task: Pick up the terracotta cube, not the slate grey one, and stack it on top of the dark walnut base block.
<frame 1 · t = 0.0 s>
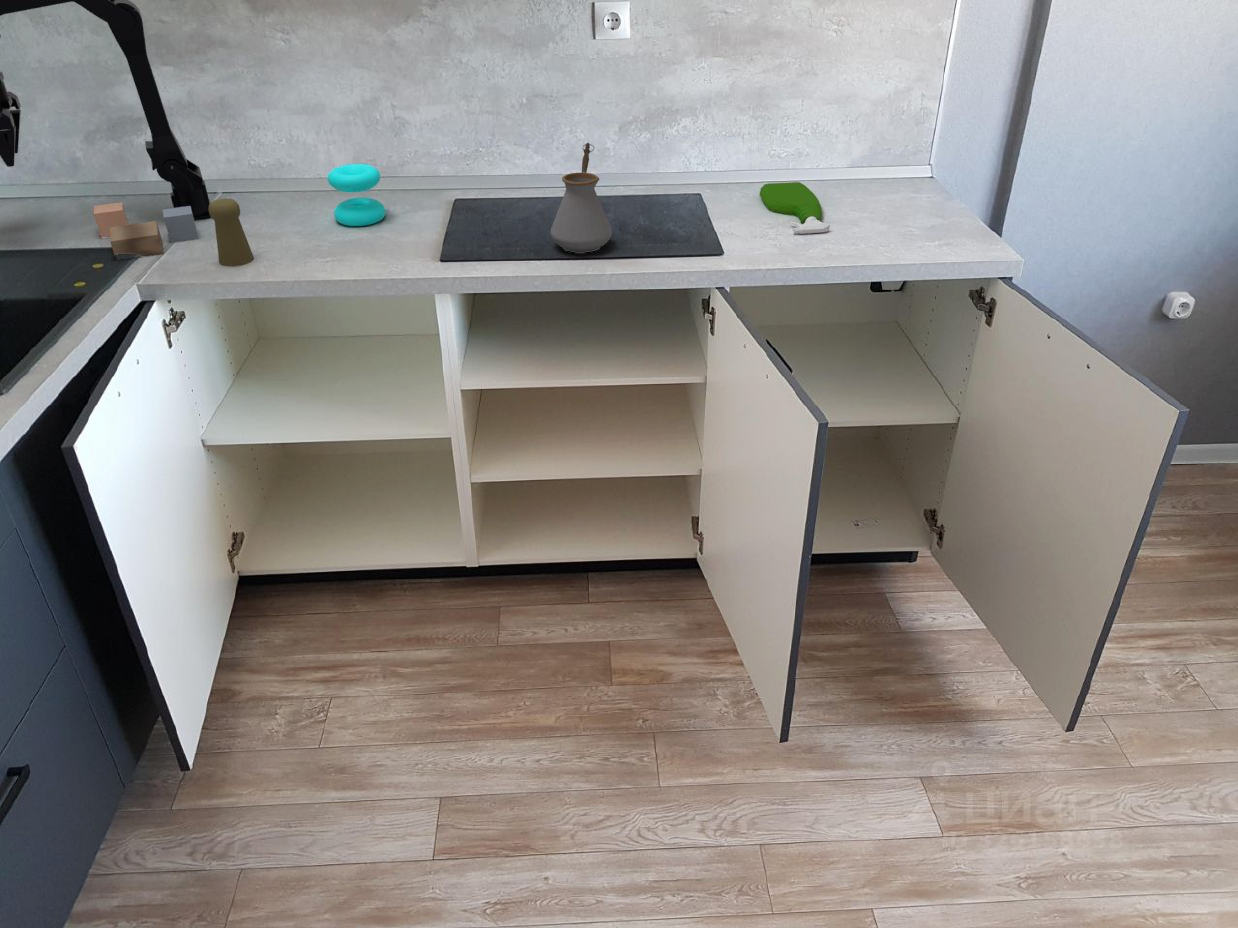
hand: (12, 159, 174), 15 cm above the countertop, tool pointing down, fingers open, 9 cm apart
coffee pot: (584, 237, 181), on the countertop
walnut base block: (140, 251, 176), on the countertop
terracotta cube: (116, 233, 184), on the countertop
donuts: (361, 220, 189), on the countertop
slate grey cube: (184, 237, 182), on the countertop
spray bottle: (796, 216, 191), on the countertop
olive pawn: (236, 261, 172), on the countertop
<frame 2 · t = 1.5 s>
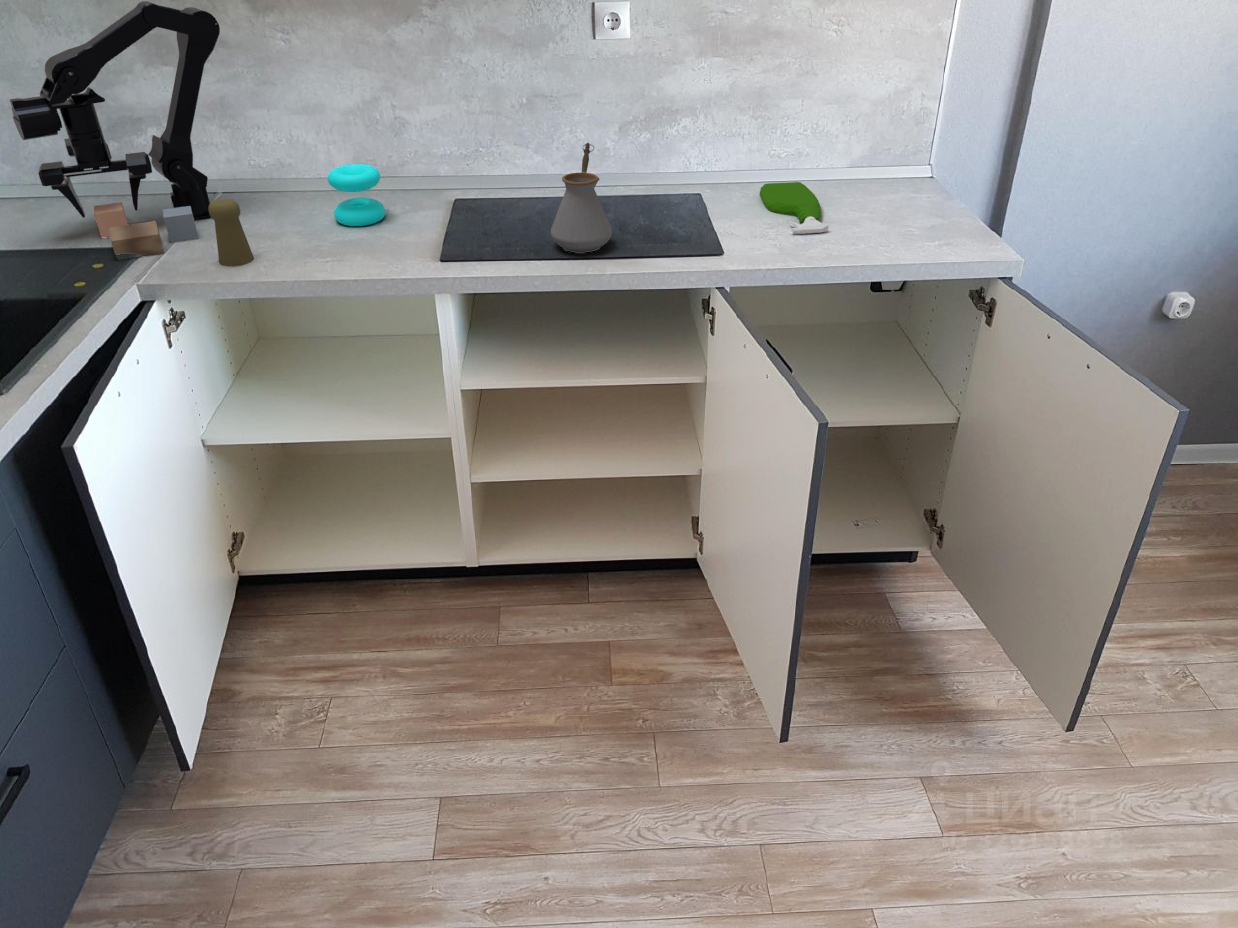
hand: (110, 213, 182), 4 cm above the countertop, tool pointing down, fingers open, 9 cm apart
nothing on the countertop moved.
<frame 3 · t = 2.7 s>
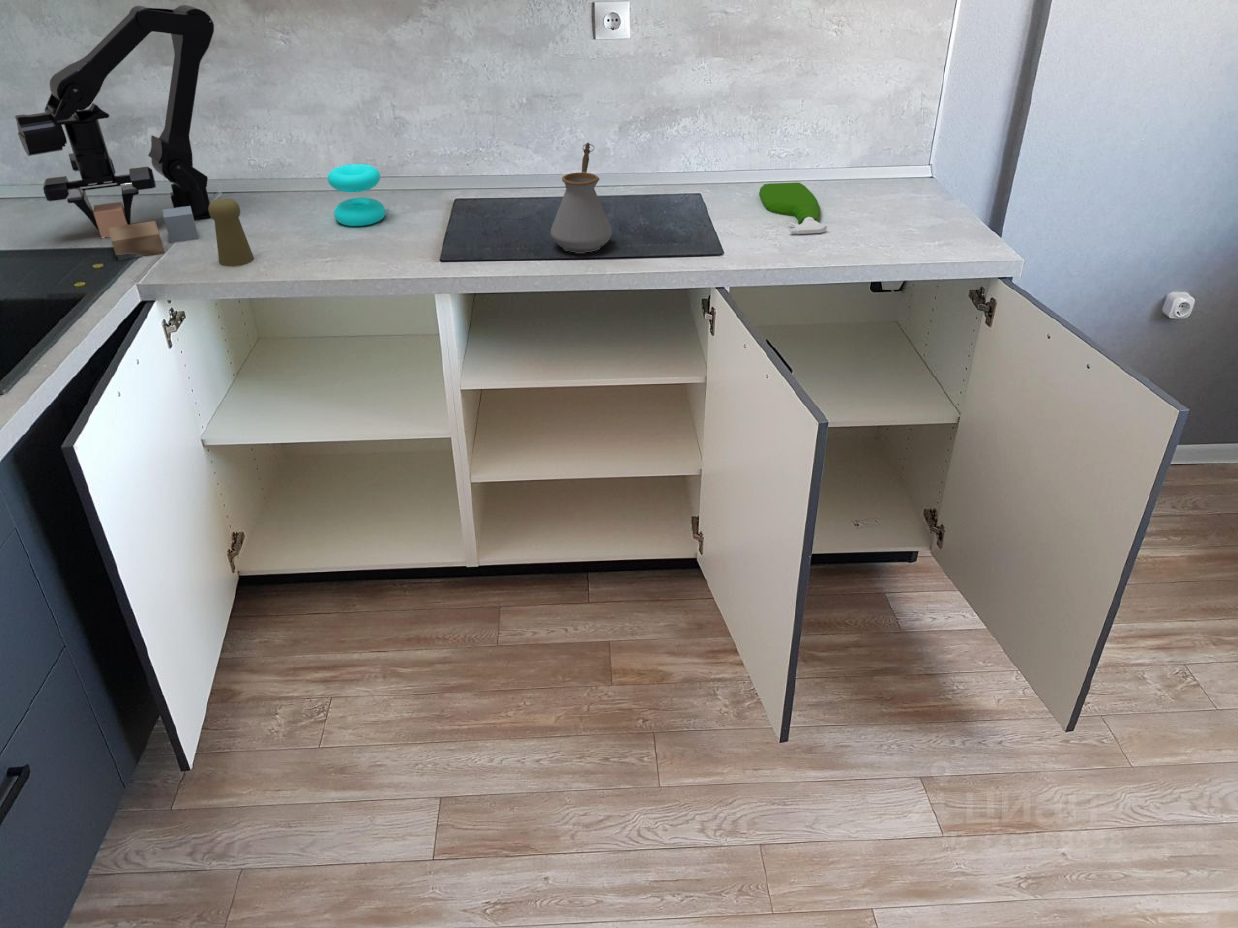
hand: (114, 227, 183), 1 cm above the countertop, tool pointing down, fingers closed on terracotta cube, 5 cm apart
terracotta cube: (115, 232, 184), on the countertop, touching gripper
everything else where it was.
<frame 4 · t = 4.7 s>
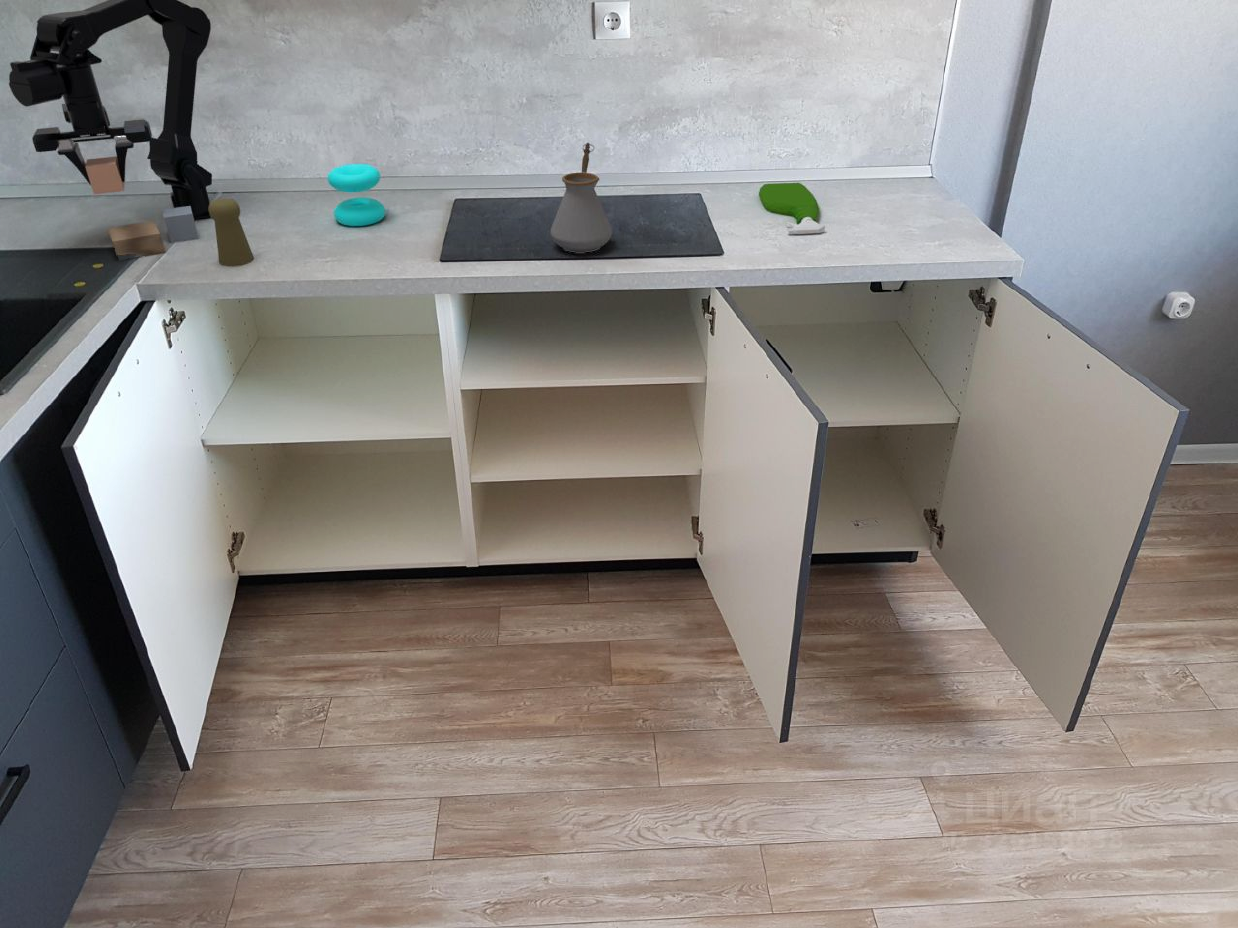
hand: (108, 183, 174), 11 cm above the countertop, tool pointing down, fingers closed on terracotta cube, 5 cm apart
terracotta cube: (109, 188, 174), point 10 cm above the countertop, touching gripper
everything else where it was.
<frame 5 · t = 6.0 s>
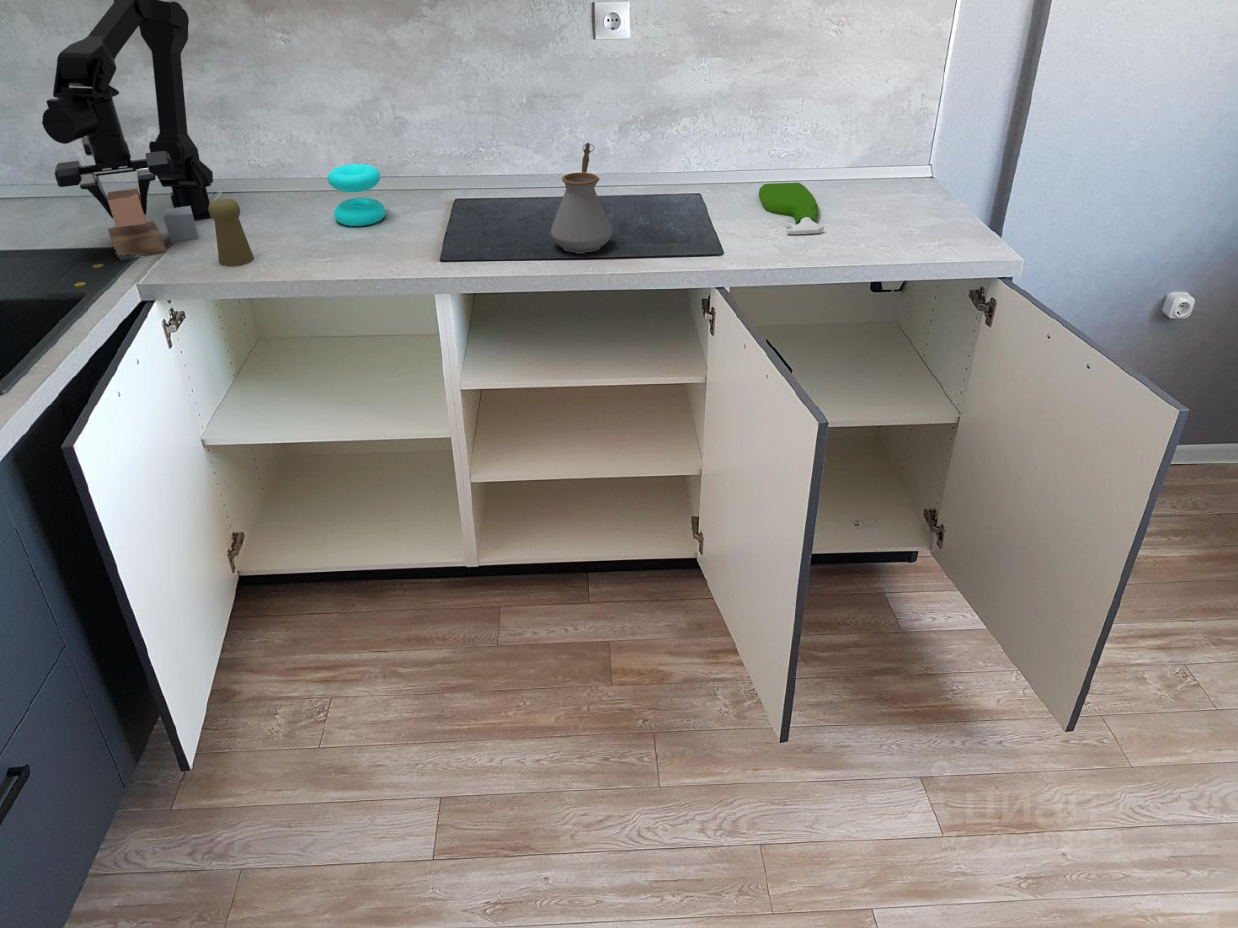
hand: (129, 215, 173), 7 cm above the countertop, tool pointing down, fingers closed on terracotta cube, 5 cm apart
terracotta cube: (131, 221, 173), point 5 cm above the countertop, touching gripper
everything else where it was.
when the fingers open (6 cm above the countertop, at t = 6.7 s): terracotta cube drops 2 cm, resting on walnut base block.
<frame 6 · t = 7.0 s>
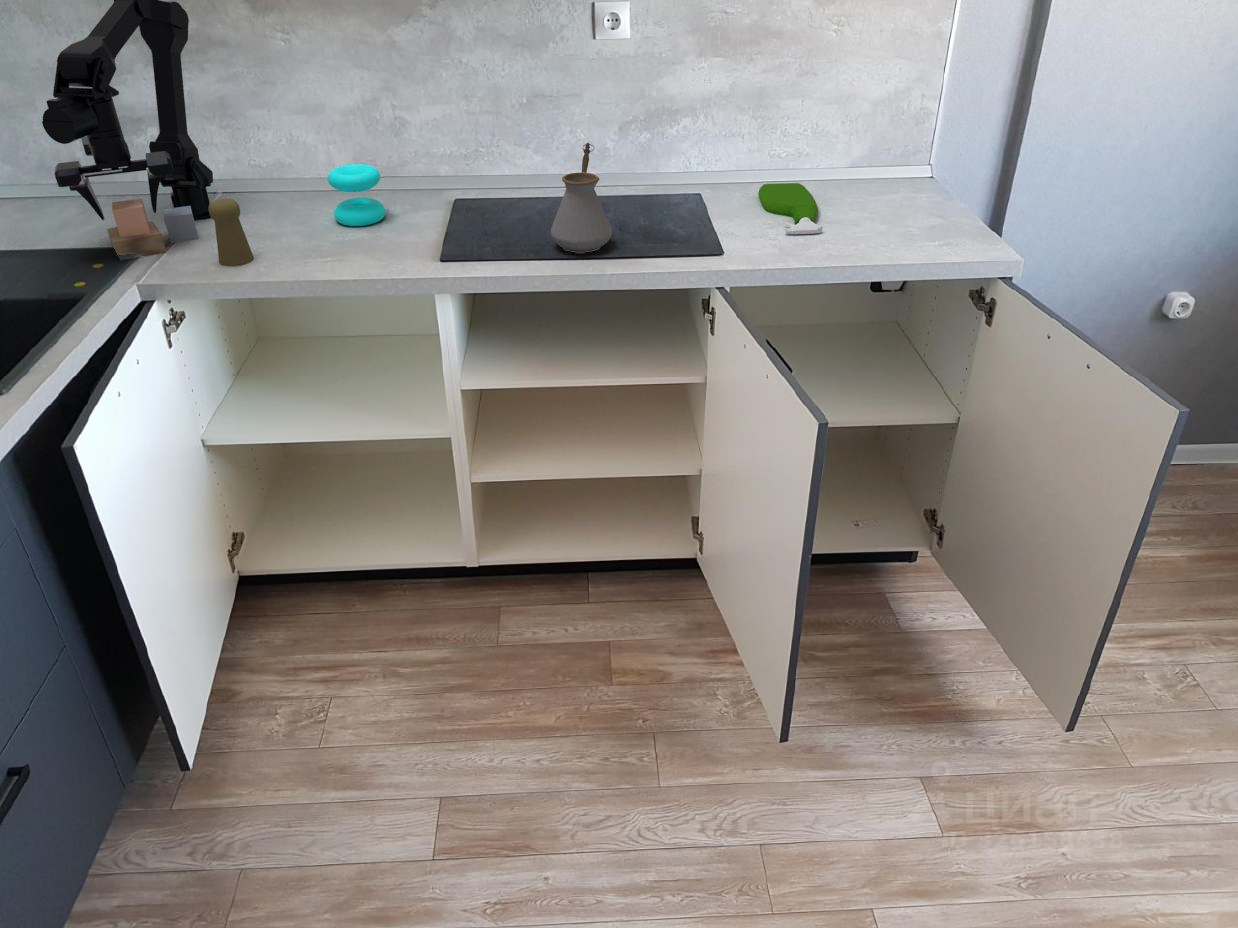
hand: (129, 215, 173), 6 cm above the countertop, tool pointing down, fingers open, 8 cm apart
walnut base block: (139, 251, 176), on the countertop, touching terracotta cube
terracotta cube: (135, 231, 174), point 4 cm above the countertop, touching walnut base block
everything else where it was.
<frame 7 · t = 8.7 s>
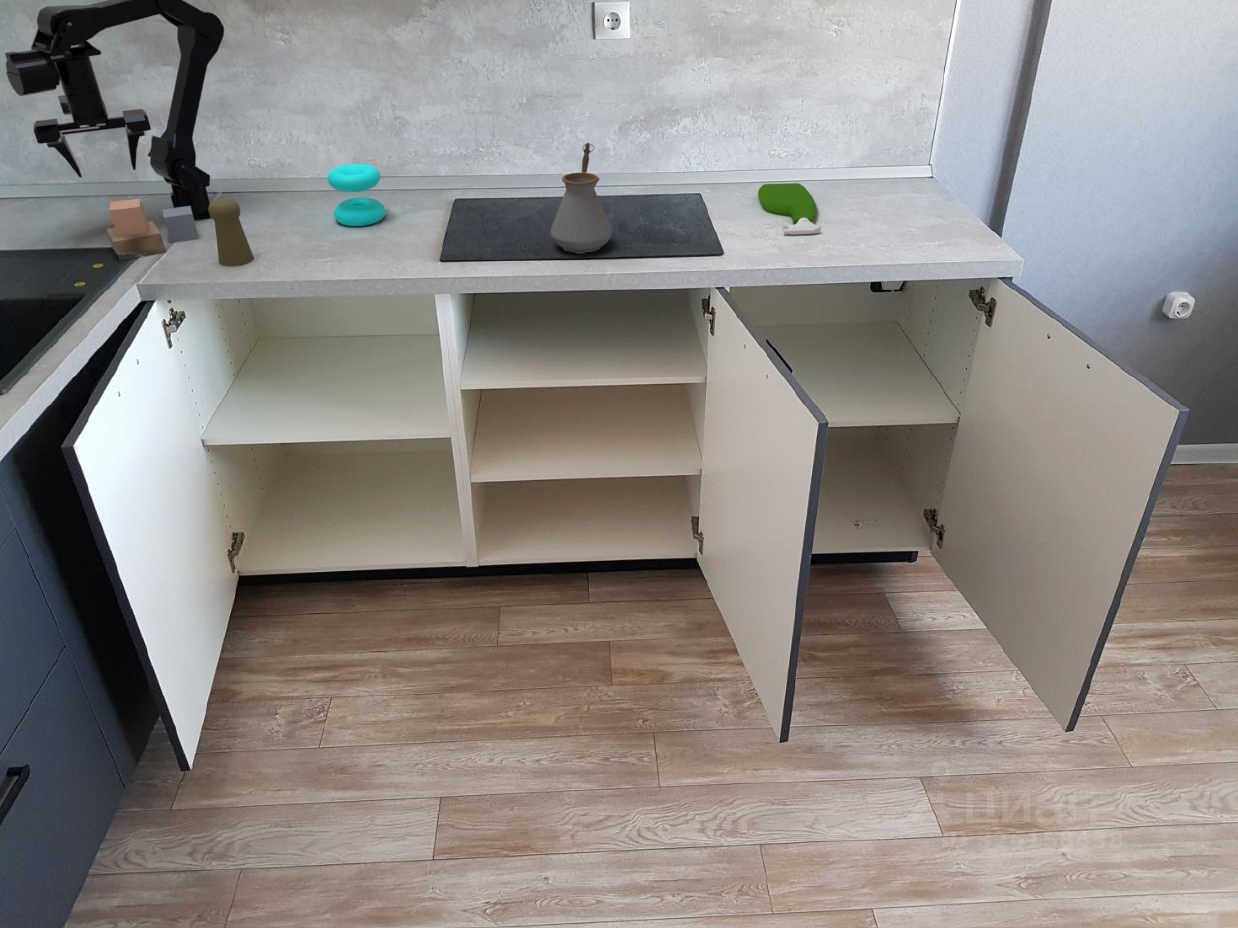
hand: (107, 173, 176), 12 cm above the countertop, tool pointing down, fingers open, 9 cm apart
walnut base block: (139, 251, 176), on the countertop
terracotta cube: (133, 231, 174), point 4 cm above the countertop
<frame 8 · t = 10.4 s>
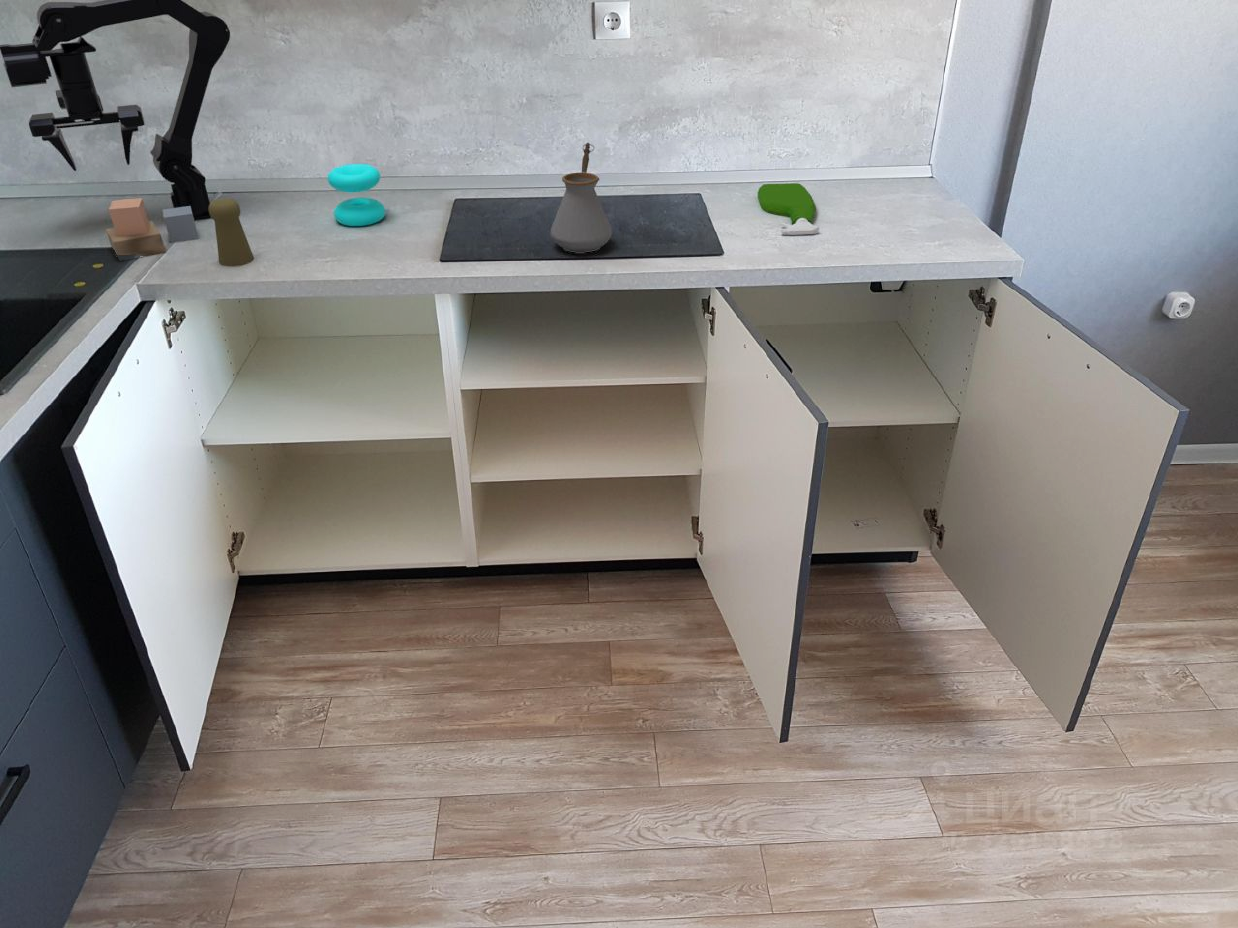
hand: (102, 167, 179), 12 cm above the countertop, tool pointing down, fingers open, 9 cm apart
at the end: terracotta cube 0.6 cm off-centre on the walnut base block, point 4.0 cm above the walnut base block's base; terracotta cube tilted 0°; the gripper is holding nothing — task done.
